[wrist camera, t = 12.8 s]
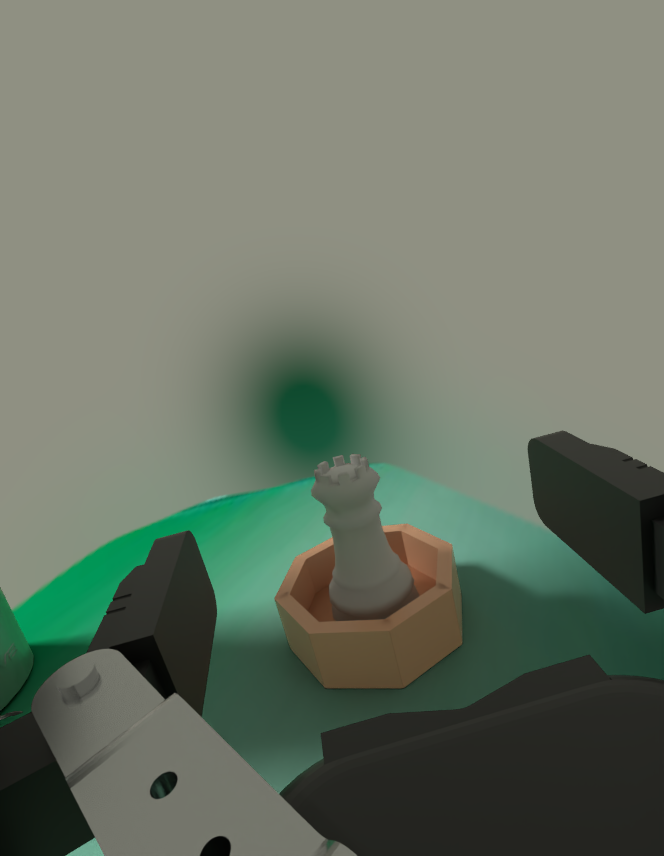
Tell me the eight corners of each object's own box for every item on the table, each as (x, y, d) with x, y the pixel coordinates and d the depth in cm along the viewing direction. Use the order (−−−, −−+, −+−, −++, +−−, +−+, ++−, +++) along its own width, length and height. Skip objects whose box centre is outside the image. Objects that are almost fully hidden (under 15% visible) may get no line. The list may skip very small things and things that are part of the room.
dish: (273, 688, 23) (255, 635, 22) (319, 575, 31) (307, 533, 30) (463, 688, 21) (451, 628, 20) (461, 566, 28) (452, 519, 28)
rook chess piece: (329, 646, 24) (284, 495, 21) (337, 587, 28) (301, 455, 26) (424, 635, 23) (388, 477, 21) (418, 576, 27) (388, 439, 25)
